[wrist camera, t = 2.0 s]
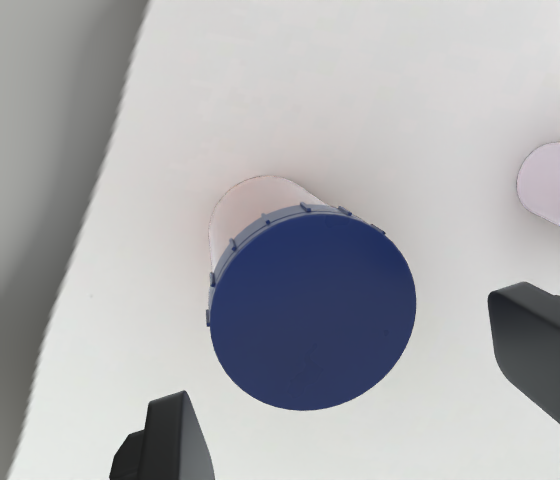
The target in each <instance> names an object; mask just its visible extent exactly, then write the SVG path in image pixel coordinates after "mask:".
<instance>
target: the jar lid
mask: <svg viewBox="0 0 560 480" xmlns="http://www.w3.org/2000/svg"><path fill="white" fill-rule="evenodd" d="M261 216H262V217H261V218H259V219H257V220H256V221H254V222H253V223H251V224H250V225H248V226H247V227H246V228H245V229H243V230H242V231H241V232H240V233H239V234H238V235H237V236H236V237H235V238H234V239H232V238H230V239H229V243H230V244H229V245H228V246H227V248H226V249H225V251H224V252H223V254H222V255H221V257H220V259H219V261H218V263H217V265H216V267H215V270H214V273H212V272H211V273H210V289H209V303H208V306H209V310H206V321H207V327H209V326H210V332H211V339H212V343H213V347H214V350H215V353H216V355H217V358H218V360H219V362H220V364H221V365H222V367H223V369H224V370H225V372H226V373H227V374H228V376H229V377H230V378H231V379H232V381H233V382H234V383H235V384H236V385H238V386H239V387H240V388H241V389H242V390H243V391H245V392H246V393H248V394H249V395H250V396H252V397H253V398H255V399H257V400H259V401H261V402H263V403H266V404H269V405H272V406H275V407H278V408H283V409H288V410H299V411H306V410H318V409H325V408H329V407H333V406H336V405H340V404H342V403H345V402H347V401H350V400H352V399H354V398H356V397H358V396H360V395H361V394H363V393H365V392H366V391H367V390H369V389H370V388H372V387H373V386H374V385H376V384H377V383H378V382H379V381H380V380H381V379H383V378H384V377H385V375H386V374H387V373H388V372H389V371H390V370H391V369H392V368H393V366H394V365H395V364H396V362H397V361H398V360H399V358H400V356H401V355H402V353H403V351H404V349H405V348H406V345H407V343H408V341H409V338H410V336H411V333H412V329H413V326H414V321H415V314H416V292H415V285H414V281H413V277H412V274H411V271H410V269H409V267H408V264H407V262H406V260H405V259H404V257H403V255H402V254H401V252H400V251H399V250H398V248H397V247H396V246H395V245H394V243H393V242H392V241H391V240H389V239H388V238H387V237H386V236H385V234H386V233H385V232H384V231H382V230H381V229H379V228H377V227H376V226H374V225H373V224H371V225H369V224H368V223H366V222H365V221H363V220H362V219H360V218H358V217H357V216H355V215H353V214H352V213H351V212H350V211H348V210H346V209H345V208H343V207H341V206H339V207H338V208H335V207H331V206H325V205H315V204H305V203H304V202H300V205H295V206H290V207H286V208H282V209H279V210H276V211H273V212H271V213H268V214H266V215H265V213H262V214H261Z"/></svg>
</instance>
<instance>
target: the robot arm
mask: <svg viewBox="0 0 560 480" xmlns="http://www.w3.org/2000/svg"><path fill="white" fill-rule="evenodd" d="M488 310H489V317H490V324H491V331H492V339H493V346H494V353H495V357H496V360H497V363H498V365H499V367H500V369H501V371H502V373H503V374H504V376H505V377H506V378H507V379H508V380H509V381H510V382H511V383H512V384H513V385H514V386H516V387H517V388H518V389H519V390H520V391H521V392H523V393H524V394H525V395H526V396H527V397H529V398H530V399H531V400H532V401H533V402H534V403H536V404H537V405H538V406H539V407H540V408H542V409H543V410H544V411H545V412H546V413H547V414H549V415H550V416H551V417H552V418H553V419H555V420H556V421H557V422H558V423H559V424H560V296H558V295H552V294H550V293H548V292H546V291H544V290H542V289H540V288H538V287H536V286H534V285H532V284H530V283H527V282H520V283H517V284H514V285H511V286H508V287H505V288H502V289H499V290H495V291H492V292H491V293H490V294H489V296H488ZM109 478H110V480H215V476H214V470H213V465H212V461H211V457H210V453H209V450H208V447H207V444H206V442H205V439H204V436H203V433H202V431H201V428H200V425H199V423H198V420H197V417H196V414H195V412H194V409H193V406H192V403H191V401H190V398H189V396H188V394H187V392H186V391H181V392H178V393H175V394H172V395H168V396H165V397H162V398H159V399H156V400H153V401H150V402H149V405H148V410H147V416H146V422H145V428H144V430H141V431H138V432H135V433H132V434H129V435H128V437H127V438H126V439H125V441H124V442H123V444H122V445H121V447H120V448H119V450H118V451H117V453H116V454H115V456H114V459H113V463H112V468H111V472H110V476H109Z"/></svg>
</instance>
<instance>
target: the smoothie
mask: <svg viewBox="0 0 560 480" xmlns="http://www.w3.org/2000/svg"><path fill="white" fill-rule="evenodd" d="M517 193H518V196H519V199H520V201H521V203H522V204H523V206H524V207H525V208H526V209H527V210H529V211H530V212H532V213H534V214H536V215H538V216H540V217H542V218H544V219H546V220H548V221H550V222H552V223H554V224H556V225H558V226H560V142H554V143H548V144H545V145H542V146H540V147H539V148H537V149H536V150H534V151H533V152H532V153H531V154H530V155H529V156H528V157H527V158H526V160H525V161H524V163H523V164H522V166H521V168H520V171H519V174H518V178H517Z"/></svg>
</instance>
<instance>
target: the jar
mask: <svg viewBox="0 0 560 480" xmlns="http://www.w3.org/2000/svg"><path fill="white" fill-rule="evenodd" d="M300 202H304V203H305V204H315V205H325V206H328V205H327V204H325V203H324V202H323V201H321V200H320V199H318V198H317V197H315V196H314V195H312V194H311V193H310V192H308V191H307V190H305V189H304V188H302V187H301V186H299V185H298V184H296V183H295V182H292V181H290V180H288V179H285V178H281V177H276V176H259V177H255V178H251V179H248V180H245V181H243V182H241V183H239V184H237V185H236V186H234V187H233V188H231V189H230V190H229V191H228V192H227V193H226V194H225V195H224V196H223V197H222V198H221V199H220V201H219V202H218V204H217V205H216V207H215V209H214V211H213V213H212V217H211V220H210V225H209V245H210V254H211V264H212V273H214V270H215V267H216V265H217V263H218V261H219V259H220V257H221V255H222V254H223V252H224V251H225V249H226V248H227V246H228V245H229V244H230V243H229V239H230V238H232V239H234V238H235V237H236V236H237V235H238V234H239V233H240V232H241V231H242V230H243V229H245V228H246V227H247V226H248V225H250V224H251V223H253V222H254V221H256V220H257V219H259V218H261V217H262V216H261V214H262V213H265V215H266V214H268V213H271V212H273V211H276V210H279V209H282V208H286V207H290V206H295V205H300Z"/></svg>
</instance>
